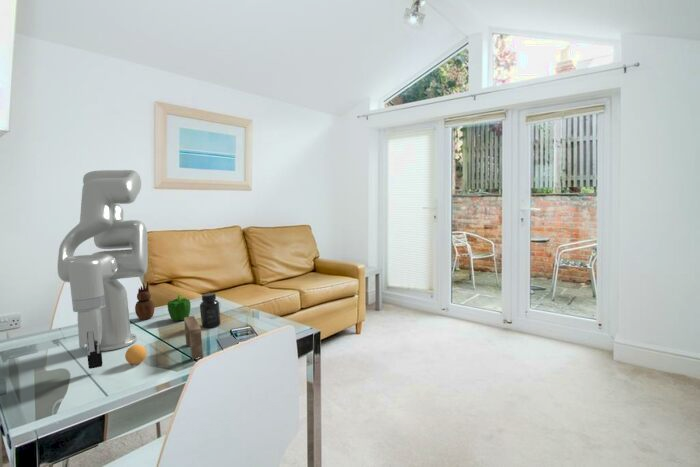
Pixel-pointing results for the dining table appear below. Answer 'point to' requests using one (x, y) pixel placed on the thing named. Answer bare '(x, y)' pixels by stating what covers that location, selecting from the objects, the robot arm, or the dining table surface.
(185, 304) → the bell pepper
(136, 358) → the ball
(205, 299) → the supplement bottle
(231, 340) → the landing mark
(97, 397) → the dining table surface
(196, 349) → the bridge
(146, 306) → the wooden figurine
